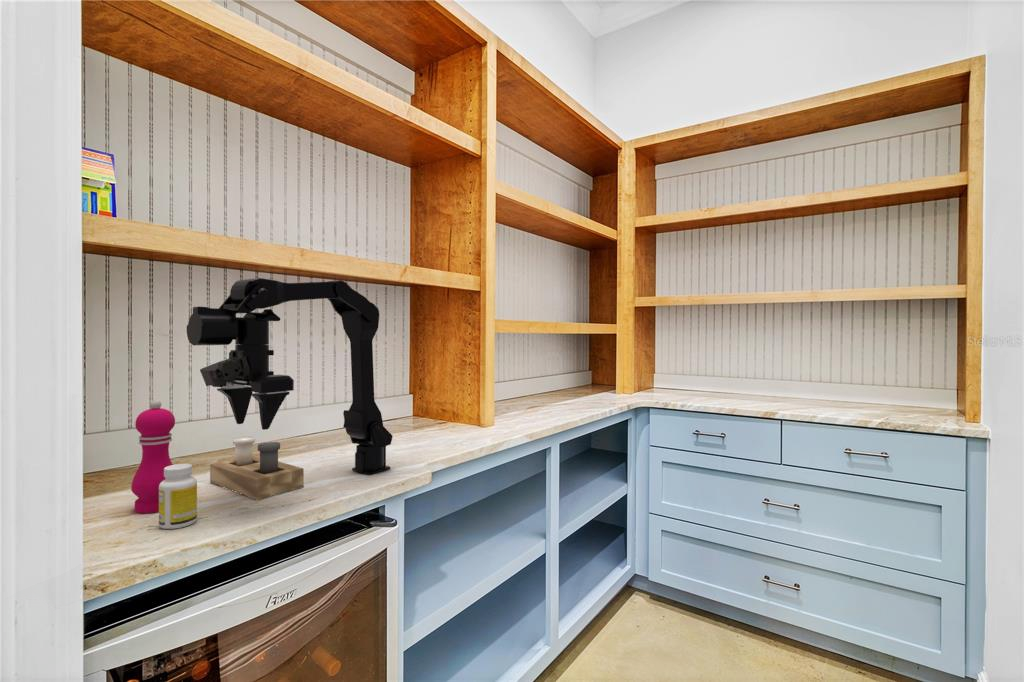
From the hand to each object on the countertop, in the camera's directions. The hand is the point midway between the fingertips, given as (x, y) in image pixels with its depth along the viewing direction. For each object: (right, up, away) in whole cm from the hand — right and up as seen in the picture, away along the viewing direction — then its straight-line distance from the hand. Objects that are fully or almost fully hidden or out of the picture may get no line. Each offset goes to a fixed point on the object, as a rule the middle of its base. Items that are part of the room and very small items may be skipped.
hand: (252, 426), depth 95 cm
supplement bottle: (-7, -15, -10) cm, 20 cm away
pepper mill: (-17, -15, -3) cm, 22 cm away
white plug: (-9, -11, +14) cm, 20 cm away
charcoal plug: (-1, -11, +9) cm, 14 cm away
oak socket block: (-5, -14, +11) cm, 19 cm away
